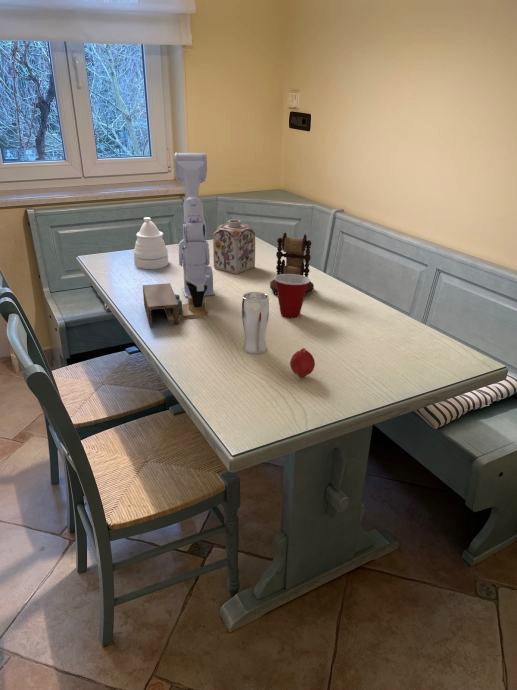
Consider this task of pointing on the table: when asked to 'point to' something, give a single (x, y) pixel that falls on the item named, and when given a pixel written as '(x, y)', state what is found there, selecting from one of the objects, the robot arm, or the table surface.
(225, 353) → the table surface
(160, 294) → the wooden caddy
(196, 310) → the tray
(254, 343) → the beer glass
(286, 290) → the plastic cup
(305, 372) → the onion
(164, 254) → the honey pot
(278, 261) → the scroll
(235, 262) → the decorative jar
